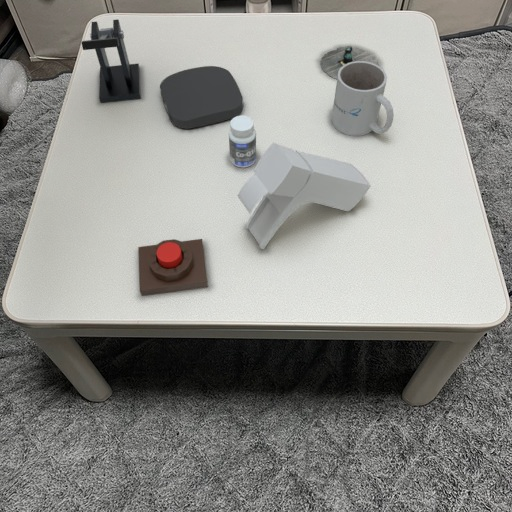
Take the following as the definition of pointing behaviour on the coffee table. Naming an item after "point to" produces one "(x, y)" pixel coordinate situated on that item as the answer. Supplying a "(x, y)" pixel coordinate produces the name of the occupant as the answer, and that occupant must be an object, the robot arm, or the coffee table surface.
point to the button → (169, 255)
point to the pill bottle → (242, 141)
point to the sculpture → (344, 59)
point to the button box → (172, 269)
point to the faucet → (296, 188)
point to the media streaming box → (201, 96)
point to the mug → (360, 99)
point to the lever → (102, 40)
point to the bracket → (116, 70)
